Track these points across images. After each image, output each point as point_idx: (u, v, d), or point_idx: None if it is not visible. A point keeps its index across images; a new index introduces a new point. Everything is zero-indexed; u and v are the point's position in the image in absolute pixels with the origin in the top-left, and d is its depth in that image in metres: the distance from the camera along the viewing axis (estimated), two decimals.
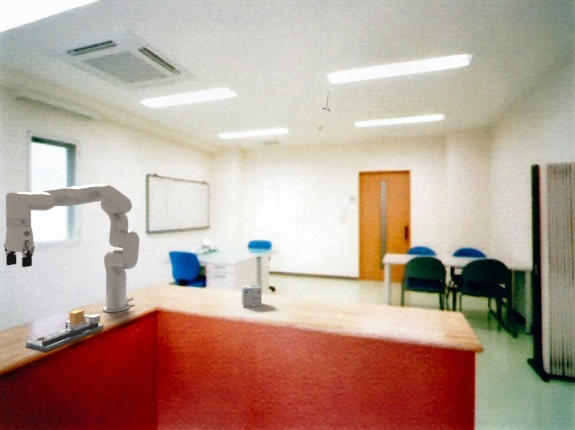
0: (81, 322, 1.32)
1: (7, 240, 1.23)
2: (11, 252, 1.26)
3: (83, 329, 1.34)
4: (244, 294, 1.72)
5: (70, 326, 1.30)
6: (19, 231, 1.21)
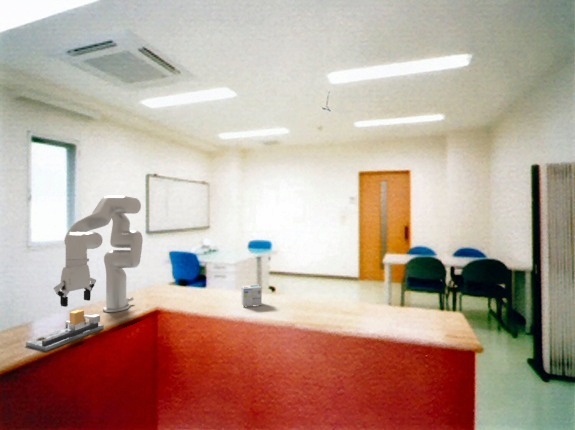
0: (81, 322, 1.32)
1: (72, 280, 1.27)
2: None
3: (83, 329, 1.34)
4: (244, 294, 1.72)
5: (70, 326, 1.30)
6: (88, 268, 1.34)
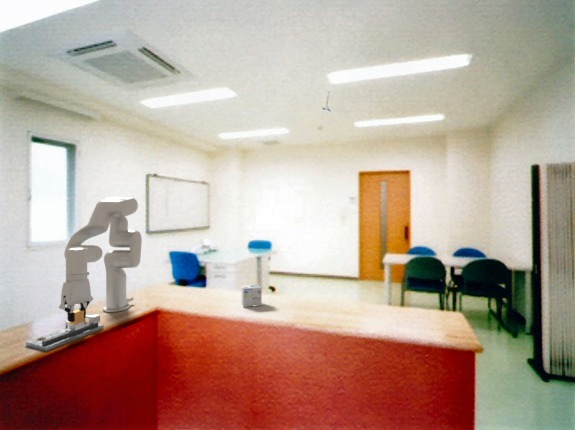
0: (81, 322, 1.32)
1: (73, 295, 1.28)
2: None
3: (83, 329, 1.34)
4: (244, 294, 1.72)
5: (70, 326, 1.30)
6: (88, 282, 1.34)
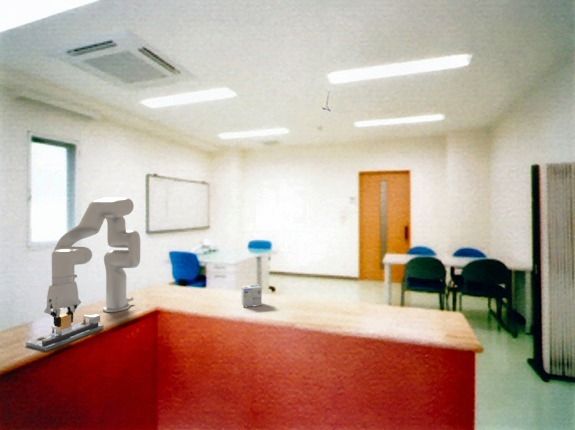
0: (68, 327, 1.27)
1: (59, 299, 1.23)
2: None
3: (83, 329, 1.34)
4: (244, 294, 1.72)
5: (56, 331, 1.25)
6: (76, 285, 1.29)
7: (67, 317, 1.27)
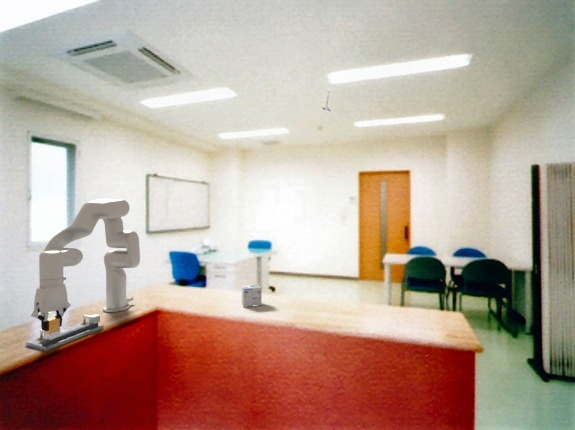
0: (56, 331, 1.23)
1: (47, 302, 1.19)
2: None
3: (83, 329, 1.34)
4: (244, 294, 1.72)
5: (44, 335, 1.21)
6: (65, 288, 1.25)
7: (55, 321, 1.22)
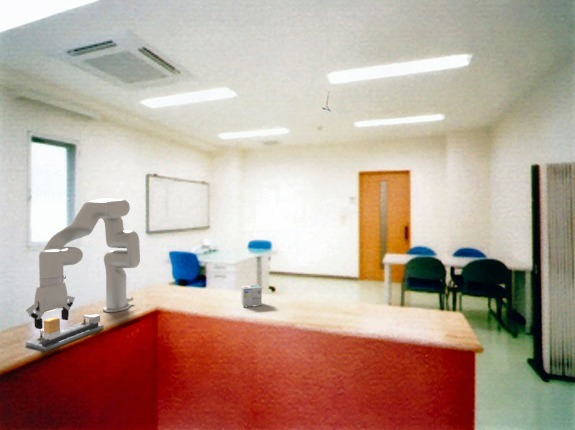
0: (56, 331, 1.23)
1: (47, 301, 1.19)
2: None
3: (83, 329, 1.34)
4: (244, 294, 1.72)
5: (44, 335, 1.21)
6: (65, 286, 1.25)
7: (55, 321, 1.22)
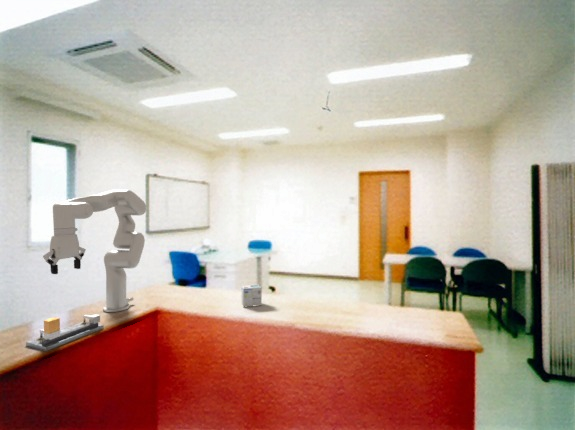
0: (56, 331, 1.23)
1: (62, 249, 1.30)
2: None
3: (83, 329, 1.34)
4: (244, 294, 1.72)
5: (44, 335, 1.21)
6: (77, 237, 1.36)
7: (55, 321, 1.22)
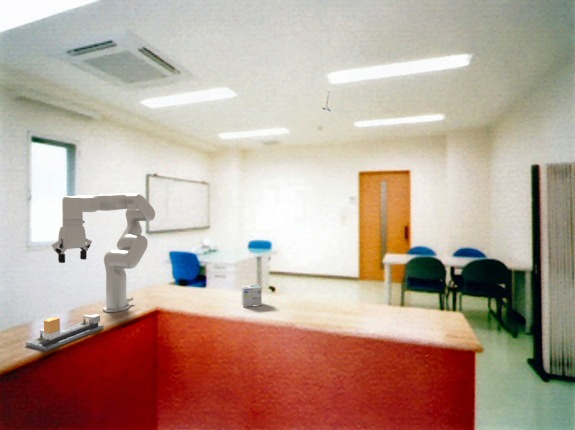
0: (56, 331, 1.23)
1: (69, 239, 1.37)
2: None
3: (83, 329, 1.34)
4: (244, 294, 1.72)
5: (44, 335, 1.21)
6: (84, 229, 1.43)
7: (55, 321, 1.22)
